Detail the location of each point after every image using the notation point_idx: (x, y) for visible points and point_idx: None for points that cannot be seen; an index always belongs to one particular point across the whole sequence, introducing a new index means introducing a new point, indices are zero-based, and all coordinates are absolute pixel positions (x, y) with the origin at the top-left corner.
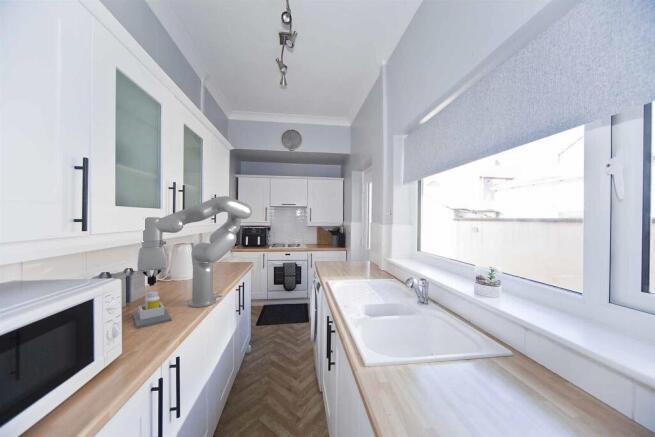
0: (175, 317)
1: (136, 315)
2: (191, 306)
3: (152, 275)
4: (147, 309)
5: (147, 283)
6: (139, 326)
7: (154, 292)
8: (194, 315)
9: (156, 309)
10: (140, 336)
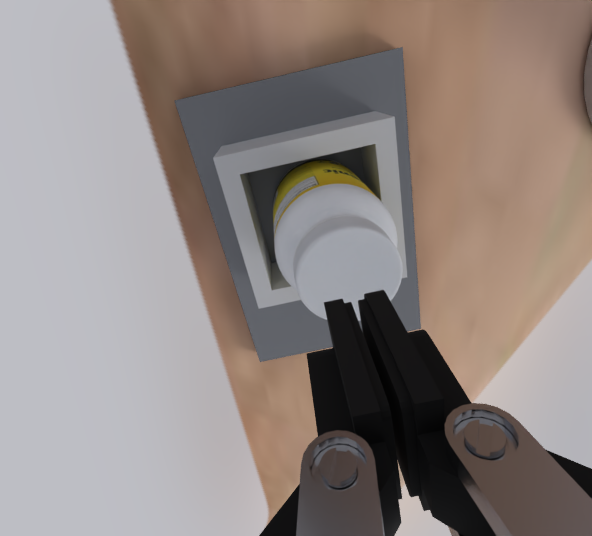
0: (441, 280)
1: (217, 182)
2: (588, 112)
3: (424, 460)
4: None
5: (307, 356)
6: (271, 355)
7: (369, 291)
8: (536, 293)
9: None
10: (290, 431)
